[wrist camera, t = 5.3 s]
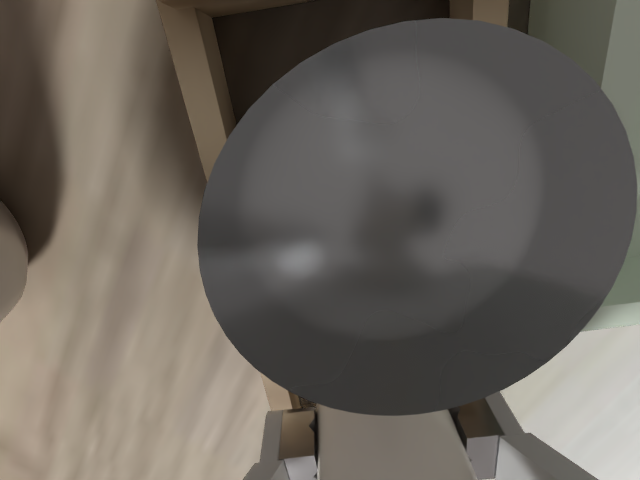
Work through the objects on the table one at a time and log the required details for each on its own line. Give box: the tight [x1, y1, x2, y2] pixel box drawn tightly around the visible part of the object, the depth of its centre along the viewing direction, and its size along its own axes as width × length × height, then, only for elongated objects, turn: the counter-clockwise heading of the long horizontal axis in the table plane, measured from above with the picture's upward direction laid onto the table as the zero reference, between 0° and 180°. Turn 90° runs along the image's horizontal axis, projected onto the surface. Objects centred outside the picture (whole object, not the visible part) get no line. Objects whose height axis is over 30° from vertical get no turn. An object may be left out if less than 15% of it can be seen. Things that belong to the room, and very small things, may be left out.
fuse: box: [316, 403, 478, 480], centre depth 10 cm, size 4×4×8 cm
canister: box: [198, 18, 637, 416], centre depth 7 cm, size 4×4×8 cm
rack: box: [156, 0, 509, 411], centre depth 13 cm, size 25×8×2 cm, turn 8°
